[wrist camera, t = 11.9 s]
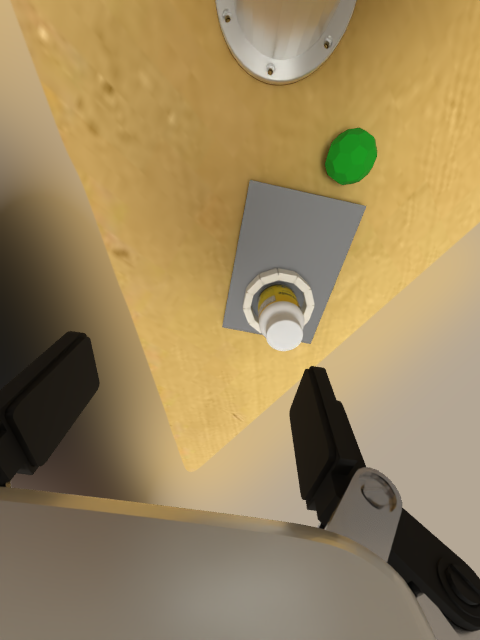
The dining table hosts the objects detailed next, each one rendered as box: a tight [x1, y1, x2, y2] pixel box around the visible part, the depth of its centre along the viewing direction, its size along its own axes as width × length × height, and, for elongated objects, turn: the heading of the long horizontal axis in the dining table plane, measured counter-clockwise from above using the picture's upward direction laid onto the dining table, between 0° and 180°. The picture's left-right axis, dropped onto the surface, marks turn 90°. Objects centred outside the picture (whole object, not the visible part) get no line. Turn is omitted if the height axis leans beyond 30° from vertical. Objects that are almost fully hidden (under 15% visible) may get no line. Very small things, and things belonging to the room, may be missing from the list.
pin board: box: [222, 180, 366, 344], centre depth 33 cm, size 20×14×4 cm
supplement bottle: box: [258, 283, 304, 351], centre depth 31 cm, size 5×5×10 cm
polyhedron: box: [325, 128, 377, 185], centre depth 26 cm, size 5×5×5 cm
